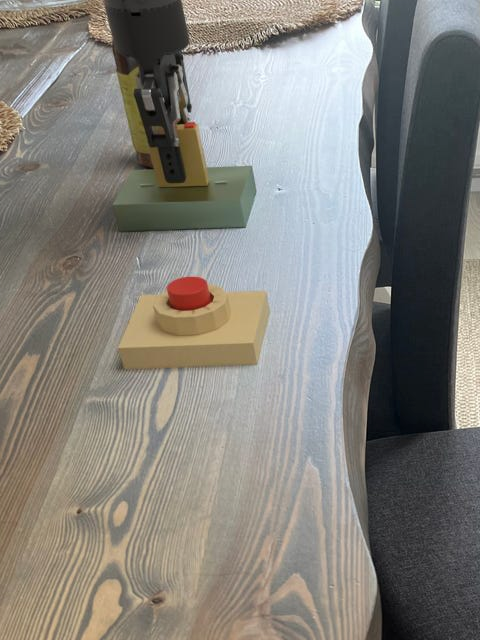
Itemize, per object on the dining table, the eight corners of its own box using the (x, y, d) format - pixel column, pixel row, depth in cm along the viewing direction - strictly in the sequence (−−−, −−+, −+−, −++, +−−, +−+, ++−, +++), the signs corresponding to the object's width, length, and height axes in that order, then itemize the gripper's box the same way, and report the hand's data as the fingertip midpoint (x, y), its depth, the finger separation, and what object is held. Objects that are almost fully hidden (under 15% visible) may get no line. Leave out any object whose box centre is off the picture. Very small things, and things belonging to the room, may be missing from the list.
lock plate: (119, 231, 111) (111, 203, 109) (138, 196, 119) (130, 168, 116) (245, 227, 112) (240, 198, 109) (256, 191, 119) (251, 164, 116)
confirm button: (167, 313, 90) (163, 295, 89) (175, 295, 93) (170, 276, 91) (208, 312, 90) (203, 293, 89) (214, 293, 93) (210, 275, 91)
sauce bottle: (163, 174, 123) (118, -15, 109) (127, 165, 126) (78, -21, 111) (200, 156, 127) (161, -29, 113) (164, 148, 129) (121, -34, 115)
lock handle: (158, 187, 112) (143, 128, 108) (161, 182, 113) (146, 123, 109) (207, 185, 112) (195, 126, 108) (209, 180, 113) (197, 121, 109)
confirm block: (124, 370, 90) (111, 329, 88) (146, 316, 97) (135, 276, 95) (257, 365, 91) (249, 323, 88) (270, 311, 98) (263, 272, 95)
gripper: (119, -21, 105) (160, 149, 117) (86, 16, 95) (134, 198, 107) (191, -24, 105) (224, 147, 117) (165, 13, 95) (204, 196, 107)
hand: (181, 170), depth 112 cm, fingers open, 5 cm apart
